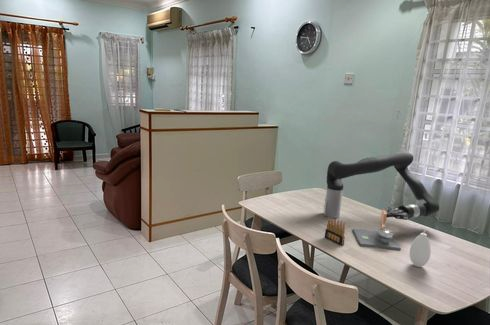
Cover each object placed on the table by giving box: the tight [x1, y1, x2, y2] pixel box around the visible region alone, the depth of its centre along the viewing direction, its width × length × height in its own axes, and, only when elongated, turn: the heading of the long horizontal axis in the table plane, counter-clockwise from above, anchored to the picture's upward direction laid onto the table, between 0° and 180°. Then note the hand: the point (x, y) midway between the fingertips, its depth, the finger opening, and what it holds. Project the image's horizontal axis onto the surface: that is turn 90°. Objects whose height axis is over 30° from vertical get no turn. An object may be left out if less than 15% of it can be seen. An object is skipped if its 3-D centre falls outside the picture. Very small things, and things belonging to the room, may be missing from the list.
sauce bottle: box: [409, 228, 432, 268], centre depth 143 cm, size 8×8×18 cm
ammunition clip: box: [323, 216, 346, 247], centre depth 162 cm, size 11×2×12 cm, turn 37°
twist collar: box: [377, 209, 394, 239], centre depth 166 cm, size 16×7×10 cm, turn 168°
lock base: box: [352, 228, 402, 251], centre depth 168 cm, size 19×18×4 cm
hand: (385, 215), depth 171 cm, fingers closed
